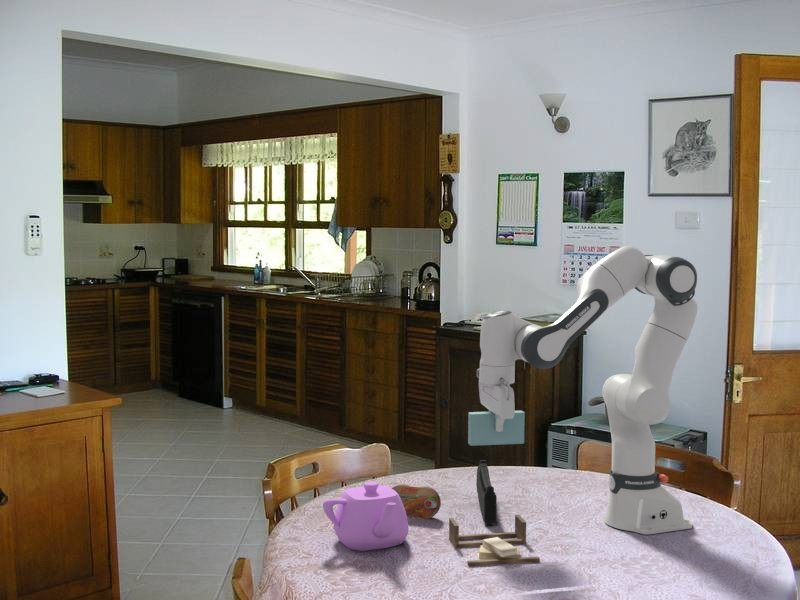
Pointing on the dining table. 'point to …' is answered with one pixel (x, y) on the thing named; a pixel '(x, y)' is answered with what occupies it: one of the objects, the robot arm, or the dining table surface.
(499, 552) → the offcut top
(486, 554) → the offcut middle
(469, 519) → the dining table surface
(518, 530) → the rack
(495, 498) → the magazine
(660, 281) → the robot arm
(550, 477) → the dining table surface
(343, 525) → the teapot
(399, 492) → the tin
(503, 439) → the board
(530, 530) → the dining table surface
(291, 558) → the dining table surface
